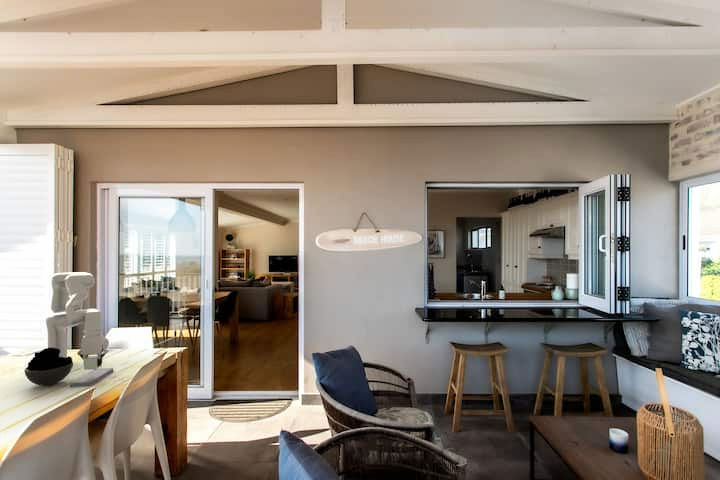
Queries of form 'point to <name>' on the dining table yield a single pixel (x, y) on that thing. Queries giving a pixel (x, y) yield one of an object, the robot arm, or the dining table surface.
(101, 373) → the board
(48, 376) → the coal bowl
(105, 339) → the donut
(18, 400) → the dining table surface
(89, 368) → the block
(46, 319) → the robot arm
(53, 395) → the dining table surface
